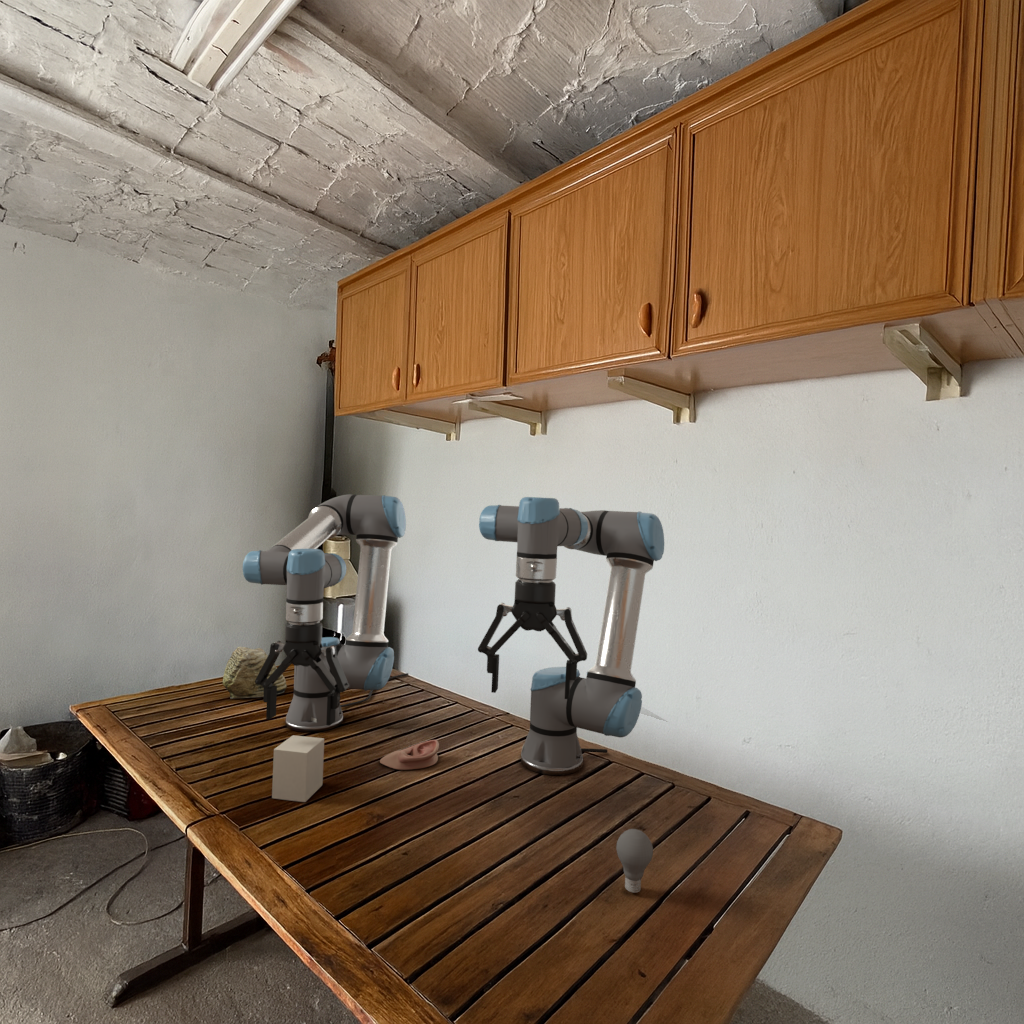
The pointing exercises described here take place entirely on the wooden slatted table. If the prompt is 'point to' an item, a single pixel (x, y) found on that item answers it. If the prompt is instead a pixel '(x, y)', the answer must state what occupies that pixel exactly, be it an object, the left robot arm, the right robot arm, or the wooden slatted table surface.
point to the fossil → (248, 673)
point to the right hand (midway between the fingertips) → (530, 693)
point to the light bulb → (634, 857)
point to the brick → (298, 768)
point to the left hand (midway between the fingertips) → (300, 720)
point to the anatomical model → (413, 756)
